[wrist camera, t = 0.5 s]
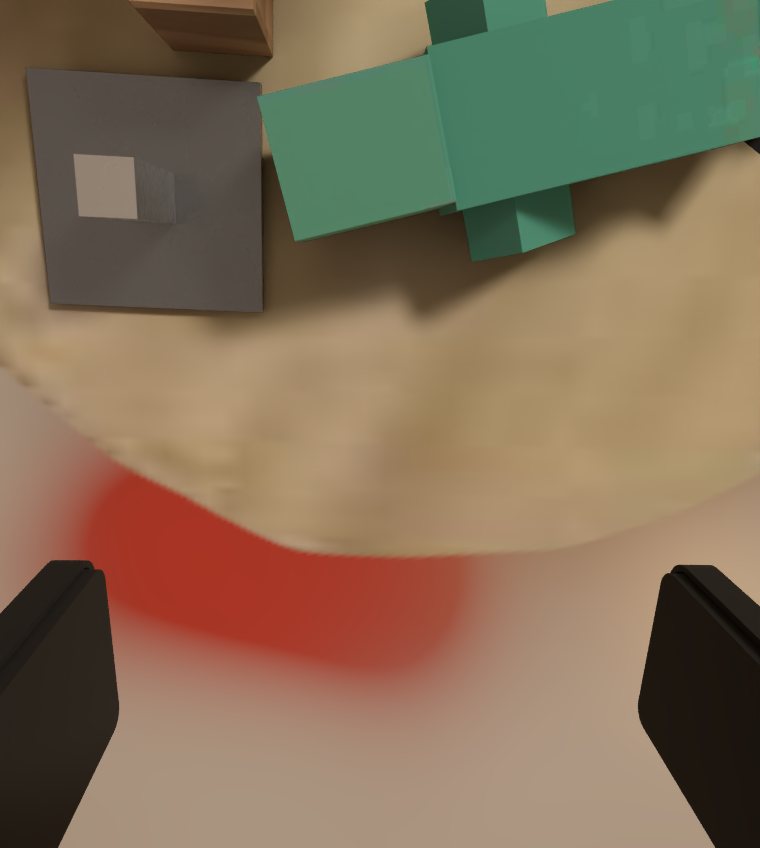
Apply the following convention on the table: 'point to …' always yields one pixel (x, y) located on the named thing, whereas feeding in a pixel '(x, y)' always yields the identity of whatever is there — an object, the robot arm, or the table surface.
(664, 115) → the toy
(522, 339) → the table surface
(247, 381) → the table surface
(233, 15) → the tan cardboard carton
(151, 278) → the grey base plate
